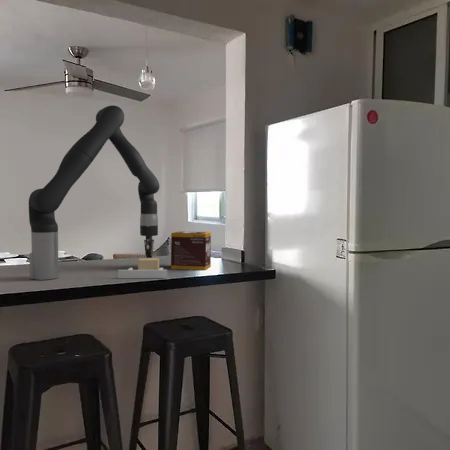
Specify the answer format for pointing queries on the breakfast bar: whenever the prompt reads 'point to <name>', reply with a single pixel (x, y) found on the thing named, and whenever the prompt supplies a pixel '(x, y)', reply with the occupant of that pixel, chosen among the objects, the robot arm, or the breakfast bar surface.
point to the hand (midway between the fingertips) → (149, 264)
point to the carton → (149, 264)
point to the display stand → (142, 273)
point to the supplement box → (191, 250)
